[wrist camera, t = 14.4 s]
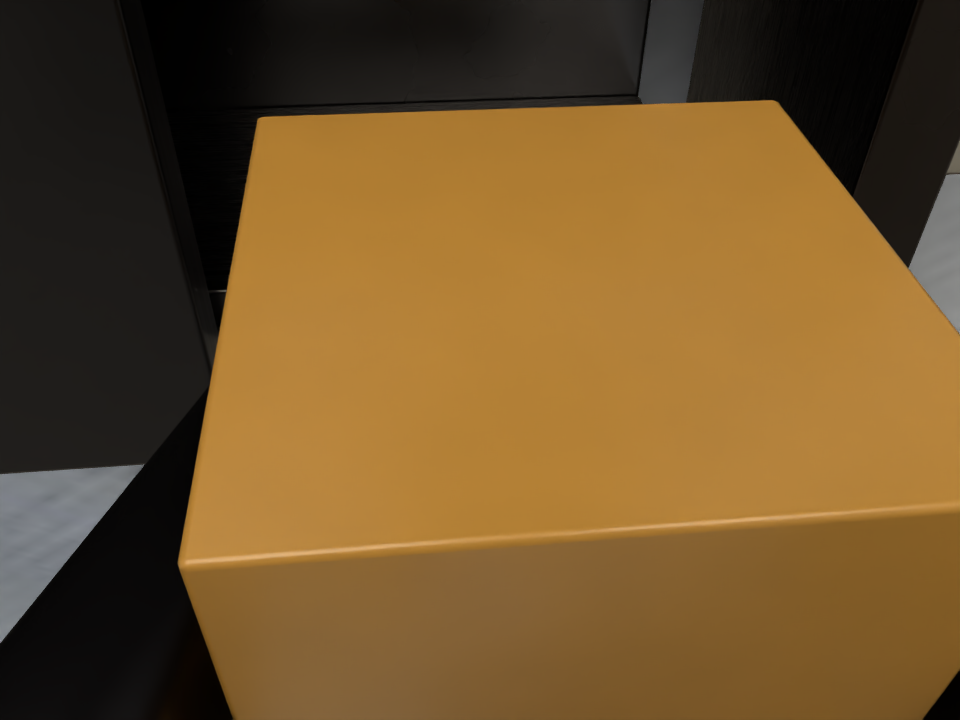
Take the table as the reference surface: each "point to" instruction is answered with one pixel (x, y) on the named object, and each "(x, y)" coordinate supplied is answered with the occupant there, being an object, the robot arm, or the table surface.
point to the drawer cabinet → (92, 244)
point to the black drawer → (560, 82)
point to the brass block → (572, 428)
